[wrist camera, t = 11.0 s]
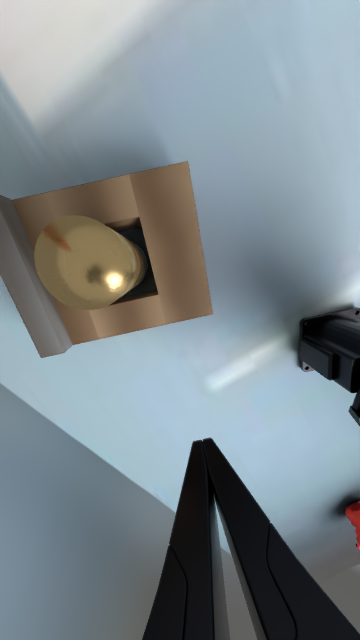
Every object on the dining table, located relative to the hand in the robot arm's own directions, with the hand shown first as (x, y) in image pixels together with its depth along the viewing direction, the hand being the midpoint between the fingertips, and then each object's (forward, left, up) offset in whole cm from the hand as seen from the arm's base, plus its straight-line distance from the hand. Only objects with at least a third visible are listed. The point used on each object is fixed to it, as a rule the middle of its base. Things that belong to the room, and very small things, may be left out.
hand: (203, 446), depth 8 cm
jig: (+4, -8, -12) cm, 16 cm away
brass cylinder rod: (+4, -8, -12) cm, 16 cm away
